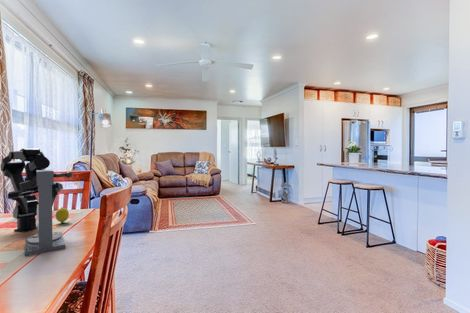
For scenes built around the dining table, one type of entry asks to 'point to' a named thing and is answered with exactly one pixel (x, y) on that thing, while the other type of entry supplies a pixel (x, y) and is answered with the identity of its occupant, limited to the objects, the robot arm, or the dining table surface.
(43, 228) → the stand
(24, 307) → the dining table surface
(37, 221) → the silver metal bottle
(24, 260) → the dining table surface
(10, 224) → the dining table surface
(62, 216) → the lemon
